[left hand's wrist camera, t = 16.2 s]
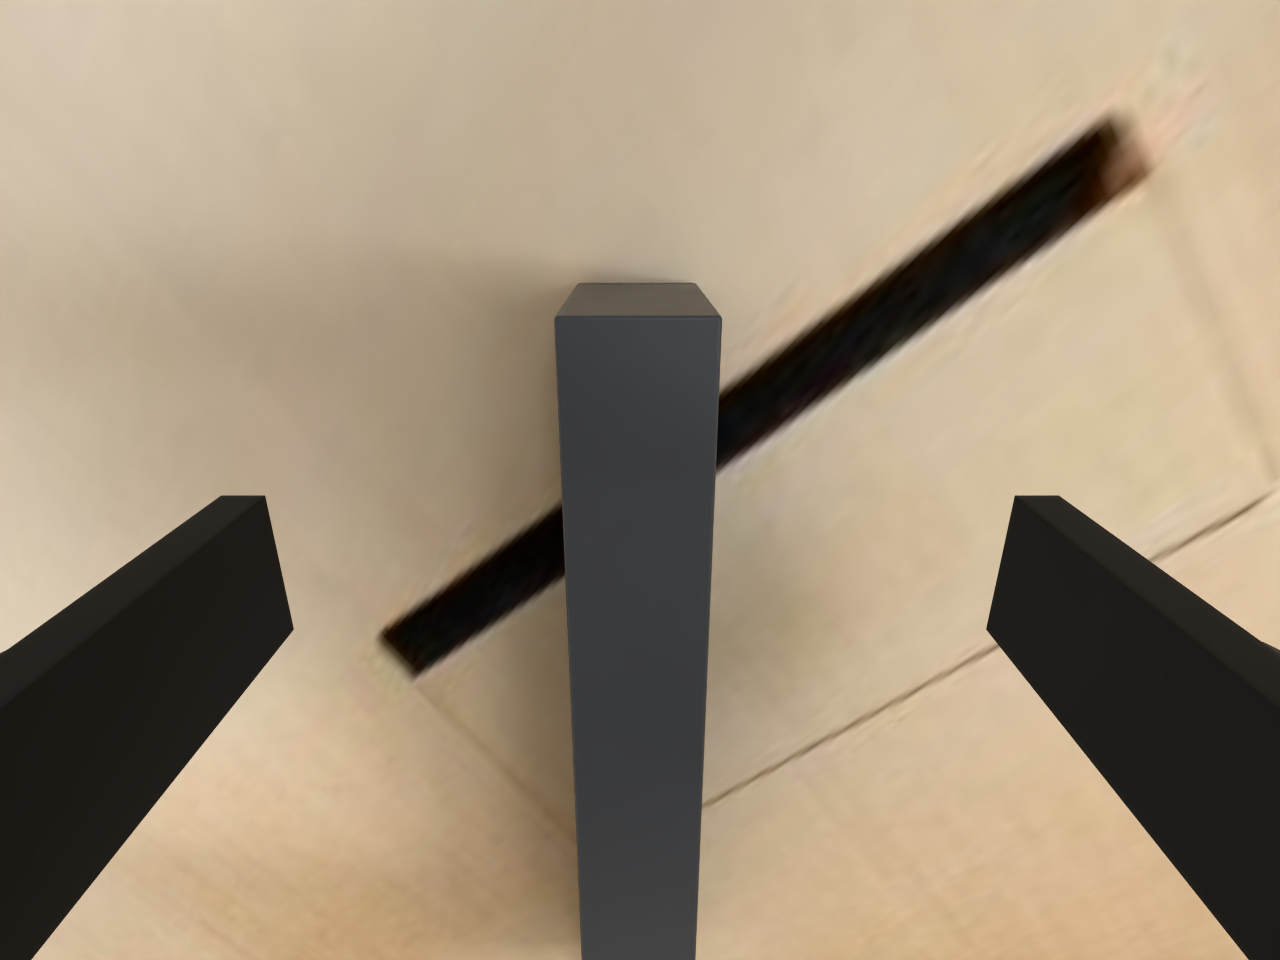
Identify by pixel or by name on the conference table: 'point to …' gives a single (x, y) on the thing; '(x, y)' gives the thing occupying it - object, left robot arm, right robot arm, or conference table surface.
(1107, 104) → the conference table surface
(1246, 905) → the left robot arm
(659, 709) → the rail
